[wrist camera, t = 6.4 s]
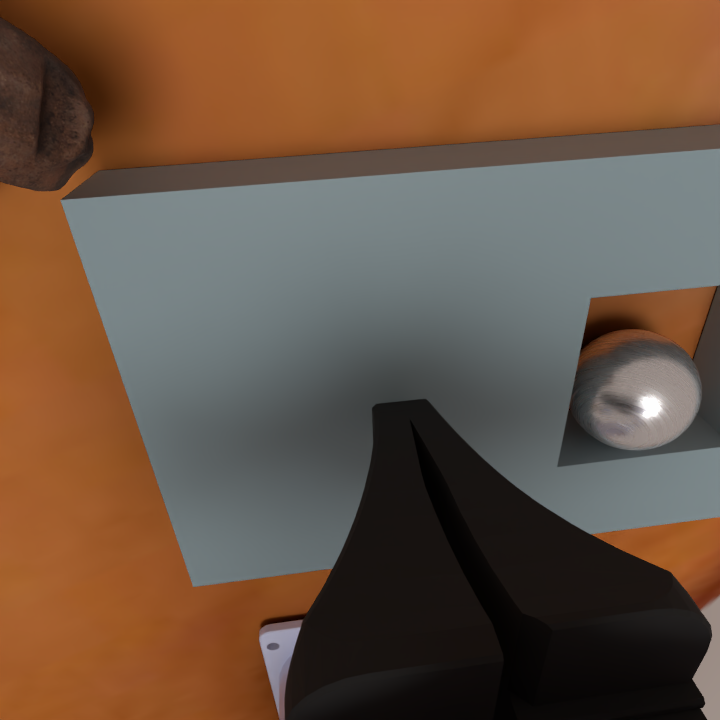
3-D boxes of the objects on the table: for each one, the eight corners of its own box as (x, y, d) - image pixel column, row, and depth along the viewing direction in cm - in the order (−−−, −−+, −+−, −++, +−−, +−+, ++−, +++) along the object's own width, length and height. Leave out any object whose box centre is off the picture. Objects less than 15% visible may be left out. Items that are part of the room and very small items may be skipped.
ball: (687, 402, 17) (666, 491, 15) (575, 368, 18) (543, 445, 17) (731, 324, 14) (711, 420, 13) (596, 291, 16) (560, 373, 14)
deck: (738, 457, 20) (791, 507, 18) (203, 524, 19) (193, 586, 17) (890, 111, 14) (998, 126, 12) (98, 170, 12) (60, 199, 10)
